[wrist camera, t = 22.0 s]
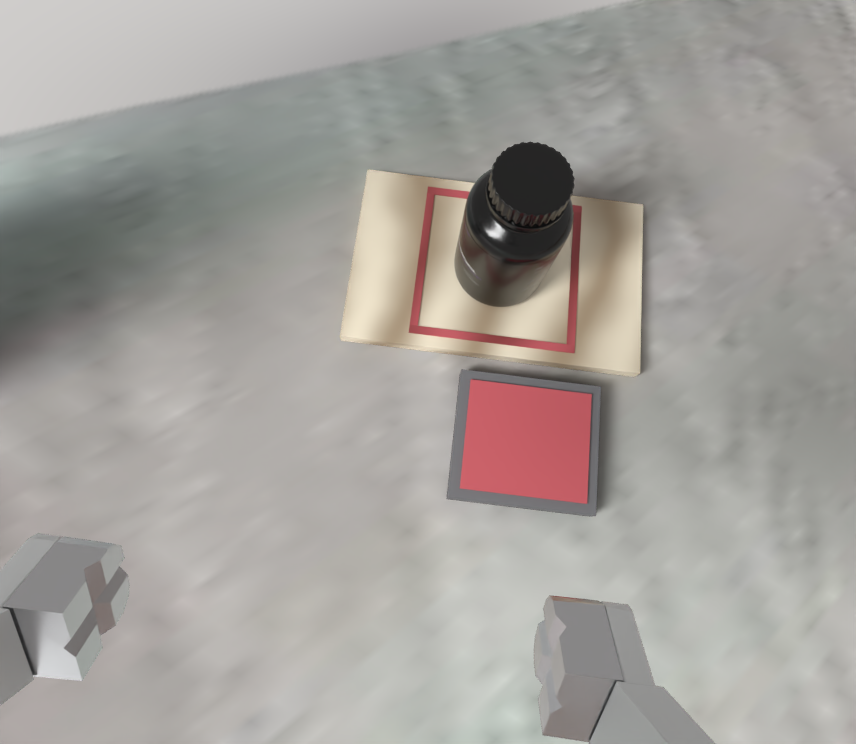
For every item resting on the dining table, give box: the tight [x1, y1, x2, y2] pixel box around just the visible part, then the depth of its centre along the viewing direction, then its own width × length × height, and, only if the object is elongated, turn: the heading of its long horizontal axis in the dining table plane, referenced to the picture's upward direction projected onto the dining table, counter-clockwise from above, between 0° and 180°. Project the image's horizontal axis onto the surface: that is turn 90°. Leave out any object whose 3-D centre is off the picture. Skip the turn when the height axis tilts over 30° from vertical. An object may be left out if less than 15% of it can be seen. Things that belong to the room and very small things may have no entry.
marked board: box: [340, 169, 643, 377], centre depth 45 cm, size 22×14×1 cm, turn 83°
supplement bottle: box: [454, 142, 574, 307], centre depth 39 cm, size 7×7×12 cm
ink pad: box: [447, 369, 601, 516], centre depth 41 cm, size 10×9×2 cm
